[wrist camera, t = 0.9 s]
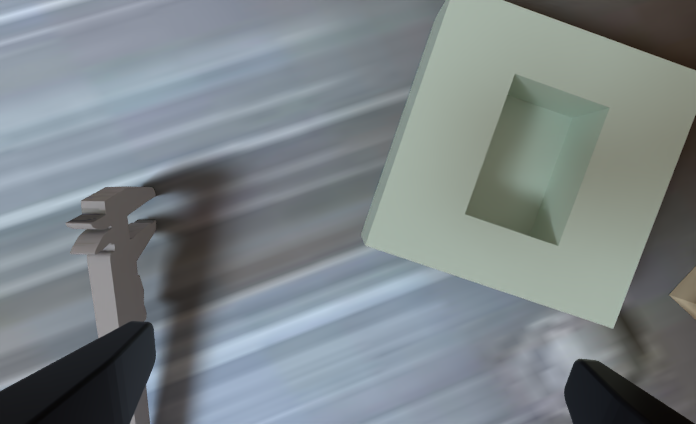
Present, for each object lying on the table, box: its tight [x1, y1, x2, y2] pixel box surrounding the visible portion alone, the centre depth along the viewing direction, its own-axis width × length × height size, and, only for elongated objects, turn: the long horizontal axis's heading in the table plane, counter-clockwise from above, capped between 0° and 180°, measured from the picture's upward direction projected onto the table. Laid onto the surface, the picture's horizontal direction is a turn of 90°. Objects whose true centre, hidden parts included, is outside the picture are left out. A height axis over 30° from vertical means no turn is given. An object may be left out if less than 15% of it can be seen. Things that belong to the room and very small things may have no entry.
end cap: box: [361, 0, 696, 328], centre depth 21 cm, size 12×12×4 cm
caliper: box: [66, 187, 156, 424], centre depth 20 cm, size 20×1×6 cm, turn 179°
